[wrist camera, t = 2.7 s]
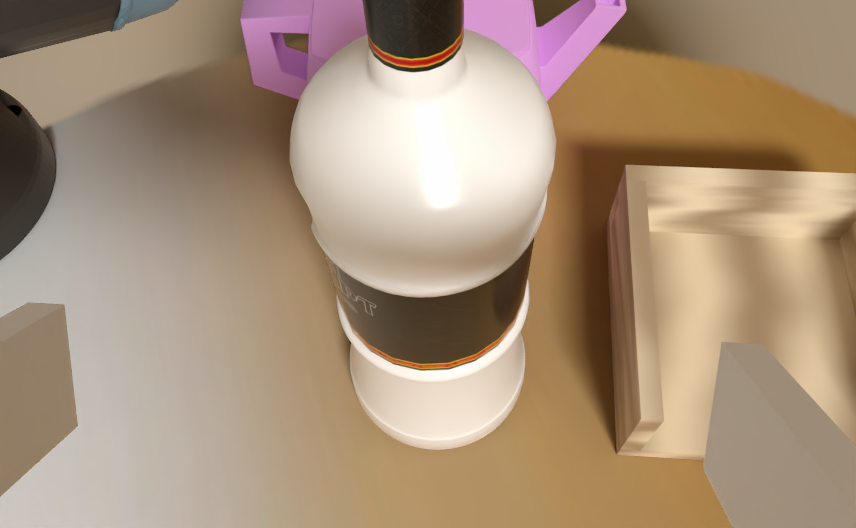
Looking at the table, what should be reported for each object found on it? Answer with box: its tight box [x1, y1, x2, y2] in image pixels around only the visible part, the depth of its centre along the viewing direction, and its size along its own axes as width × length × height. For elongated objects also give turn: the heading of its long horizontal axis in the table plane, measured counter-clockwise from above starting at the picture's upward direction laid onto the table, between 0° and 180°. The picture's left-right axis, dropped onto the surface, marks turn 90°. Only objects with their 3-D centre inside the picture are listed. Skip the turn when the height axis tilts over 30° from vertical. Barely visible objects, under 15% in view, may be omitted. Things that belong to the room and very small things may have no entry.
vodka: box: [290, 0, 556, 450], centre depth 28 cm, size 9×9×30 cm
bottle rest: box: [606, 165, 856, 460], centre depth 39 cm, size 14×14×6 cm
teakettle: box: [240, 0, 626, 102], centre depth 45 cm, size 17×17×12 cm
